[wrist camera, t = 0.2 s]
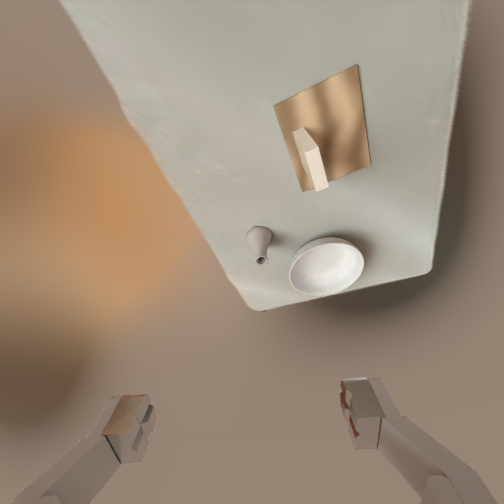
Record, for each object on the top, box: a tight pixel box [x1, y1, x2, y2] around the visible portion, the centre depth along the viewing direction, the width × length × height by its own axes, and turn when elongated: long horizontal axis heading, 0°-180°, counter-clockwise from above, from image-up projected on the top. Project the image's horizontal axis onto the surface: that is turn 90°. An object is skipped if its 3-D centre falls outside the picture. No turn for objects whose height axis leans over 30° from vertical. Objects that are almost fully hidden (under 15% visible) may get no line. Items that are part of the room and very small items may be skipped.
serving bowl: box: [289, 237, 364, 296], centre depth 74 cm, size 21×21×7 cm
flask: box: [246, 226, 272, 266], centre depth 66 cm, size 7×7×10 cm
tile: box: [292, 127, 329, 192], centre depth 50 cm, size 2×8×12 cm, turn 24°
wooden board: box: [274, 65, 370, 192], centre depth 54 cm, size 16×20×1 cm
